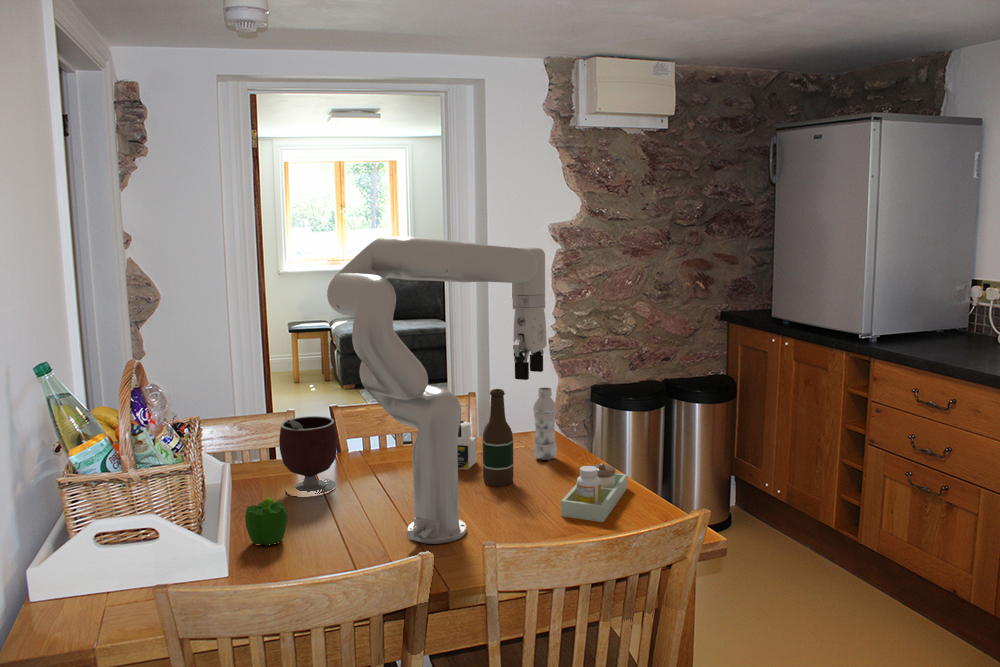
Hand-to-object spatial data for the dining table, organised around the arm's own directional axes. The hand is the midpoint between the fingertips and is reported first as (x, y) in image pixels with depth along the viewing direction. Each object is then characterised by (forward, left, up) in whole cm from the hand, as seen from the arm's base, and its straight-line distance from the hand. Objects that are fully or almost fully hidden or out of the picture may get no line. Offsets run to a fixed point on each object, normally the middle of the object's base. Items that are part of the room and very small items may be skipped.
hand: (529, 375), depth 175 cm
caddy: (+2, -16, -30) cm, 34 cm away
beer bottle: (+9, +12, -31) cm, 34 cm away
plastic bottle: (+31, +7, -31) cm, 44 cm away
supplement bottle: (-3, -15, -30) cm, 33 cm away
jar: (+7, -16, -29) cm, 34 cm away
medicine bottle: (+18, +27, -31) cm, 45 cm away
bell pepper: (-42, +43, -31) cm, 67 cm away
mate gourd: (-13, +54, -31) cm, 63 cm away
